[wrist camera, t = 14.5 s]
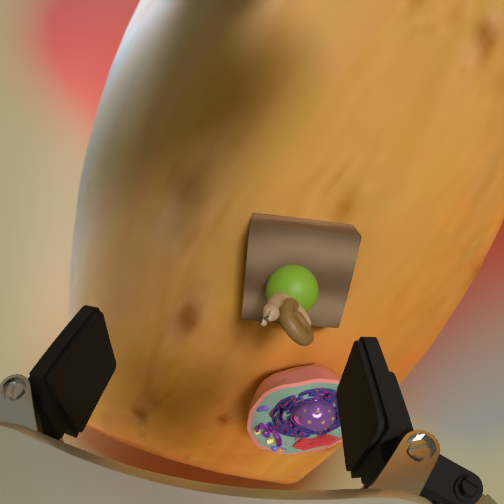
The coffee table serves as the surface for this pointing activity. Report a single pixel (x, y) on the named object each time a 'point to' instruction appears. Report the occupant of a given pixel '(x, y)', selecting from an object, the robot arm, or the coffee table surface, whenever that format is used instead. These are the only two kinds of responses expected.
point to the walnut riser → (300, 262)
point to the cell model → (296, 411)
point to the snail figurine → (292, 301)
